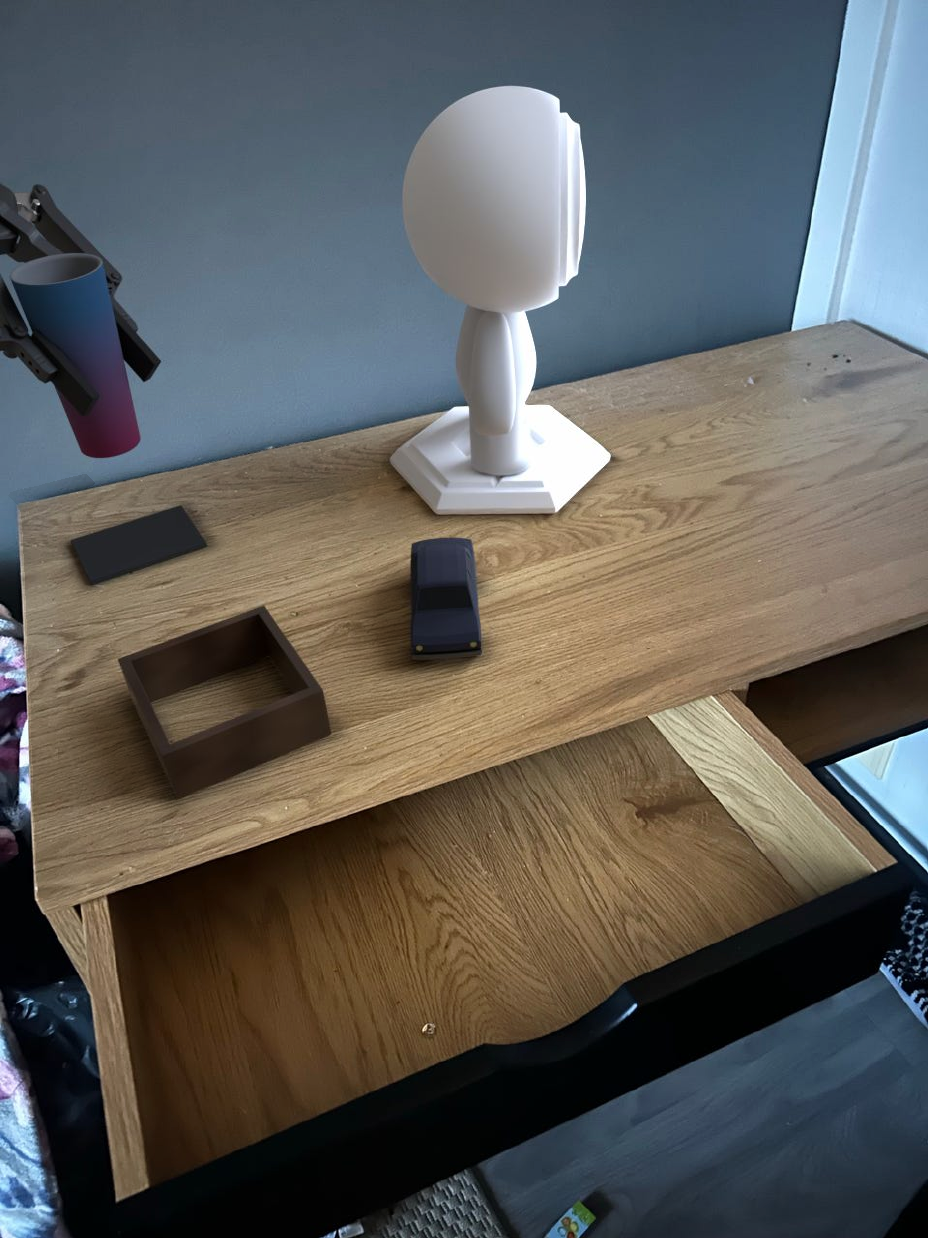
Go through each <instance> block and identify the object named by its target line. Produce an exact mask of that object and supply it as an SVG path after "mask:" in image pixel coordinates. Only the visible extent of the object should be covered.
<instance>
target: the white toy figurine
mask: <svg viewBox="0 0 928 1238" xmlns="http://www.w3.org/2000/svg"><path fill="white" fill-rule="evenodd" d="M560 107H561V106H560V99H559V98H558V97H557V96H555V95H554V94H552V93H549V92H546V91H544V90H540V89H538V88H537V89H536V88H533V87H528V86H522V85H521V86H519V85H504V86H503V85H502V86H495V87H488V88H485V89H481V90H478V91H475V92H473V93H470V94H468V95H466V96H464V97H462V98H459V99H458V100H456V101H454V103H452V104H450V105H449V106H448V107H446V108H445V109H444V110H443V111H441V112H440V113H439V114H438V115H437V116H436V117H435V118H434V119H433V120H432V121H431V122H430V123H429V124H428V126H427V127H426V128H425V130H424V131H423V133H422V134H421V135H420V137H419V139H418V141H417V142H416V144H415V146H414V148H413V150H412V152H411V155H410V157H409V160H408V162H407V165H406V168H405V173H404V179H403V184H402V193H401V194H402V195H401V209H402V219H403V224H404V225H403V226H404V230H405V233H406V237H407V241H408V243H409V246H410V248H411V250H412V253H413V255H414V256H415V258H416V260H417V262H418V264H419V265H420V267H421V268H422V269H423V271H424V272H425V274H426V275H427V276H428V277H429V279H430V280H431V281H432V282H433V283H434V284H435V285H436V286H437V287H438V288H439V289H441V290H442V291H443V292H444V293H446V294H447V295H448V296H450V297H452V298H453V299H455V300H456V301H459V302H460V303H463V304H464V305H466V306H465V309H464V312H463V317H462V320H461V326H460V329H459V335H458V340H457V345H456V350H455V373H456V377H457V380H458V385H459V389H460V391H461V393H462V395H463V397H464V400H465V401H466V404H467V406H454V407H452V408H451V409H450V410H448V411H447V412H446V413H444V414H443V415H442V416H441V415H440V417H438V418H437V419H436V420H434V421H433V422H431V423H430V424H429V425H428V426H426V427H425V428H424V429H422V430H421V431H420V432H418V433H417V434H415V435H414V436H413V437H411V438H409V440H407V441H406V442H404V443H403V444H402V445H401V446H399V447H398V448H397V449H396V451H395V452H394V453H393V454H392V455H391V456H390V457H389V462H390V465H391V466H392V467H393V468H394V469H395V470H396V471H397V472H398V473H399V475H400V476H401V477H402V478H403V479H404V480H405V481H406V483H407V484H408V485H409V486H410V487H411V488H412V489H413V490H414V491H415V492H416V493H417V495H418V496H419V497H420V498H421V499H422V500H423V501H424V502H425V503H426V504H427V505H428V507H429V508H430V509H431V510H432V511H433V512H434V513H435V514H436V515H520V514H521V515H522V514H525V515H527V514H529V515H531V514H534V515H535V514H537V515H538V514H556V513H558V511H559V510H560V509H562V508H563V506H565V504H567V503H568V502H569V501H570V500H571V499H572V498H573V497H574V496H575V495H576V494H577V493H578V492H579V491H580V490H581V489H582V488H583V487H584V486H585V485H586V484H587V483H589V481H590V480H591V479H592V478H594V477H595V476H596V474H598V472H600V470H601V469H603V468H604V466H606V465H607V464H608V463H609V462H610V461H611V454H610V452H609V451H607V450H606V449H605V448H604V446H603V445H601V444H600V443H599V442H598V441H596V440H595V439H594V438H592V437H591V436H590V435H589V434H588V433H586V432H584V430H582V429H581V428H580V427H578V426H577V425H576V424H575V423H573V422H572V421H570V419H568V418H567V417H565V416H564V415H562V414H561V413H560V412H559V411H558V410H556V409H555V408H554V407H552V406H551V405H549V404H532V405H529V404H526V400H527V399H528V397H529V395H530V393H531V390H532V389H533V386H534V382H535V379H536V370H537V354H536V348H535V343H534V342H535V341H534V338H533V335H532V332H531V328H530V324H529V321H528V318H527V315H526V312H528V311H532V310H536V309H539V308H542V307H544V306H547V305H550V304H552V303H553V302H555V301H556V300H558V299H559V293H560V292H559V289H560V287H566V286H567V285H568V283H569V281H570V280H571V279H572V278H574V277H576V276H577V275H578V274H579V263H580V260H581V259H580V258H581V255H582V247H583V241H584V233H585V223H586V203H587V202H586V199H587V198H586V197H587V196H586V175H585V174H586V172H585V162H584V153H583V147H582V141H581V127H580V123H578V122H576V121H573V120H572V119H571V117H570V115H569V114H568V112H561V111H560V109H561V108H560Z"/></svg>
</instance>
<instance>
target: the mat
mask: <svg viewBox="0 0 928 1238" xmlns="http://www.w3.org/2000/svg"><path fill="white" fill-rule="evenodd" d="M70 542H71V545H72V547H73V549H74V551H75V554H76V555H77V558H78V560H79V562H80V564H81V566H82V569H83V571H84V573H85V575H86V577H87V579H88V581H89V583H90V585H91V586H94V585H97V584H100V583H103V582H106V581H108V580H111V579H114V578H117V577H118V578H119V577H120V576H124V575H127V574H129V573H132V572H135V571H138V570H142V569H144V568H147V567H151V566H154V565H156V564H159V563H163V562H164V561H168V560H171V559H174V558H177V557H180V556H183V555H186V554H190V553H192V552H195V551H198V550H201V549H203V548H204V549H205V548H206V547H208V543H207V541H206V540H205V538H204V536H203V535H202V534H201V532H200V531H199V529H198V528H197V526H196V525H195V523H194V522H193V521H192V519H191V517H190V516H189V514H188V513H187V512H186V510H185V509H184V506H183V505H181V504H179V505H176V506H173V507H169V508H167V509H164V510H161V511H158V512H155V513H152V514H148V515H146V516H142V517H139V518H136V519H132V520H129V521H126V522H123V523H119V524H117V525H114V526H111V527H107V528H103V529H101V530H98V531H94V532H91V533H88V534H85V535H82V536H79V537H75V538H73V539H70Z"/></svg>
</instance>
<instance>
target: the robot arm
mask: <svg viewBox="0 0 928 1238" xmlns="http://www.w3.org/2000/svg"><path fill="white" fill-rule="evenodd" d="M19 213H21V214H22V215H23V216H24V217H25V218H24V217H23V216H22V215H20V214H19ZM68 253H84V254H91V255H95V256H97V257H99V258H101V260H102V262H103V266H104V271H105V275H106V280H107V285H108V289H109V294H110V298H111V303H112V308H113V312H114V317H115V322H116V326H117V331H118V335H119V340H120V345H121V349H122V354H123V359H124V363H126V364H127V365H128V366H129V367H130V369H131V370H132V371H133V373H135V374H136V375H137V377H138V378H139V380H141V381H142V382H143V383H146V382H147V381H149V380H151V378H152V377H153V376H154V374H155V373H156V371H157V369H158V368H159V366H160V364H161V363H162V360H161V359H160V357H158V356H157V354H156V353H155V352H154V351H153V350H152V349H151V348H150V346H149V345H148V344H147V343H146V342H145V341H144V340H143V338H142V337H141V336H140V335H139V334H138V333H137V332H138V331H139V327H138V325H137V322H136V321H135V320H134V319H133V318H132V317H131V315H130V314H128V312H127V311H126V309H124V307H122V305H121V304H120V303H119V302H118V301H117V299H116V298H115V294H116V293H117V291H118V289H119V287H120V285H121V283H122V281H123V276H122V274H121V273H120V272H119V271H118V270H117V268H115V267H114V266H113V264H112V263H110V261H109V260H108V259H107V258H106V257H105V256H104V255H103V254H102V253H101V252H100V251H99V250H98V249H97V248H96V247H95V246H94V245H93V244H92V242H90V240H89V239H88V238H87V237H86V236H85V235H84V234H83V233H82V232H81V231H80V230H79V229H78V228H77V227H76V225H74V223H72V222H71V220H69V218H68V217H66V215H65V214H64V213H63V212H62V211H61V210H60V209H59V208H58V207H57V205H56V203H55V201H54V199H53V197H52V196H51V193H50V192H49V189H48V188H46V186H44V185H42V184H39V183H36V184H34V185H33V186H32V188H31V190H30V191H27V192H25V191H24V192H13V190H11V189H10V188H9V187H8V186H6V185H4V184H3V183H1V182H0V256H2V255H6V256H8V257H9V258H11V259H12V260H14V261H15V262H16V263H23V264H24V263H27V262H29V261H32V260H35V259H38V258H42V257H46V256H52V255H58V254H68ZM0 352H2V354H3V355H4V356H5V357H6V358H8V359H12V360H13V359H17V358H18V359H19V360H20V361H21V362H22V363H23V364H24V365H25V366H26V368H27V369H28V370H29V371H30V372H31V373H32V374H33V375H34V377H35V378H36V379H37V380H38V381H40V382H41V383H43V384H48V383H50V382H51V383H52V384H53V386H54V385H55V386H54V388H55V387H56V388H57V389H58V390H59V391H60V392H61V393H62V394H63V395H64V397H65V398H66V399H67V400H68V401H69V402H70V403H71V404H72V405H73V407H74V408H75V409H76V410H77V411H78V412H79V413H80V414H81V415H82V416H83V417H84V416H85V415H87V414H89V413H90V412H91V410H92V409H93V407H94V405H95V403H96V402H97V400H98V398H99V397H100V394H99V393H98V392H97V391H96V390H95V389H94V388H93V387H92V385H91V384H90V383H89V382H88V381H87V380H86V379H85V378H84V376H83V375H82V374H81V373H80V372H79V371H78V370H77V369H76V368H75V366H74V365H73V364H72V363H71V362H70V361H69V360H68V359H67V358H66V356H65V355H64V354H63V353H62V352H61V351H60V350H59V349H58V347H57V346H56V345H55V344H54V343H53V342H52V341H51V340H49V339H48V338H47V337H46V336H45V335H43V334H42V333H41V331H40V330H39V329H38V330H36V331H34V332H33V333H32V332H31V334H30V333H29V327H28V325H27V324H26V322H25V320H24V318H23V315H22V314H21V312H20V310H19V308H18V305H17V304H16V302H15V300H14V297H13V295H12V294H11V292H10V290H9V288H8V286H7V284H6V282H5V280H4V277H2V274H1V273H0Z"/></svg>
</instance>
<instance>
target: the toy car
mask: <svg viewBox="0 0 928 1238" xmlns="http://www.w3.org/2000/svg"><path fill="white" fill-rule="evenodd" d="M475 558H476V557H475V551H474V546H473V539H471V538H465V537H456V536H455V537H436V538H427V539H422V540H419V541H415V542H412V543H411V549H410V563H409V564H410V565H409V568H410V627H409V629H410V630H409V632H410V644H411V647H410V648H411V649H409V652H410V654H411V657H412V659H413V660H415V661H416V660H417V661H422V660H423V661H425V660H429V661H430V660H447V659H448V660H449V659H450V660H451V659H460V658H467V657H468V658H469V657H478V656H481V655H482V654H483V650H484V646H482V624H481V618H480V612H479V611H480V609H479V595H478V581H477V570H476V569H477V568H476V559H475Z"/></svg>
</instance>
